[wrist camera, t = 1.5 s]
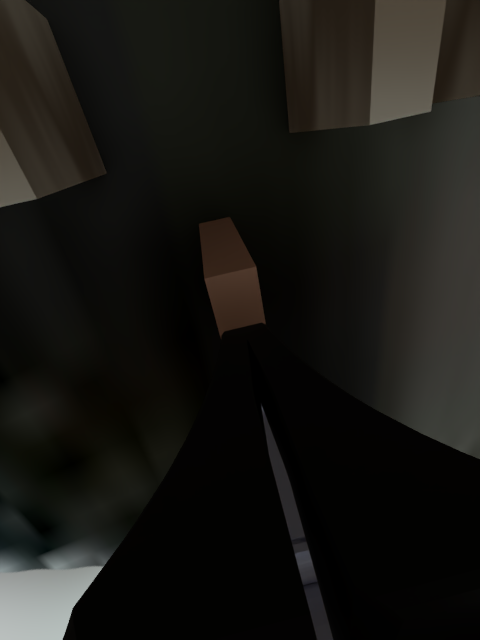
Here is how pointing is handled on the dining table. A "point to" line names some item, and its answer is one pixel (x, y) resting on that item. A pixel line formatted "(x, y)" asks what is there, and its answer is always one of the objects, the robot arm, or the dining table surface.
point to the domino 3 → (459, 52)
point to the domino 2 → (359, 60)
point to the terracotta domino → (230, 276)
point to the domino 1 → (38, 112)
